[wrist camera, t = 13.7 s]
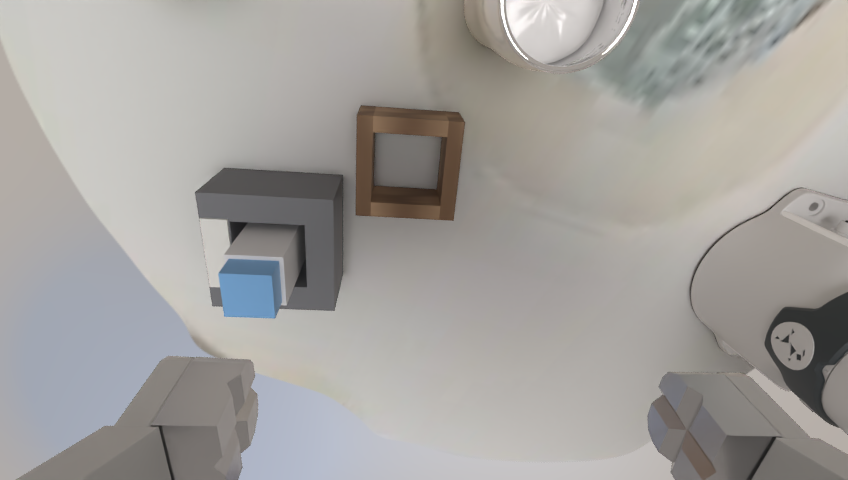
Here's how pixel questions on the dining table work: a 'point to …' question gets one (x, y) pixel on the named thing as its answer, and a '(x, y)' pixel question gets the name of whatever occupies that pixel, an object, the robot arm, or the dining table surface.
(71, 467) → the robot arm
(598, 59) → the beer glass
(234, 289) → the plug
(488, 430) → the dining table surface
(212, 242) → the port
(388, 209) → the holster
